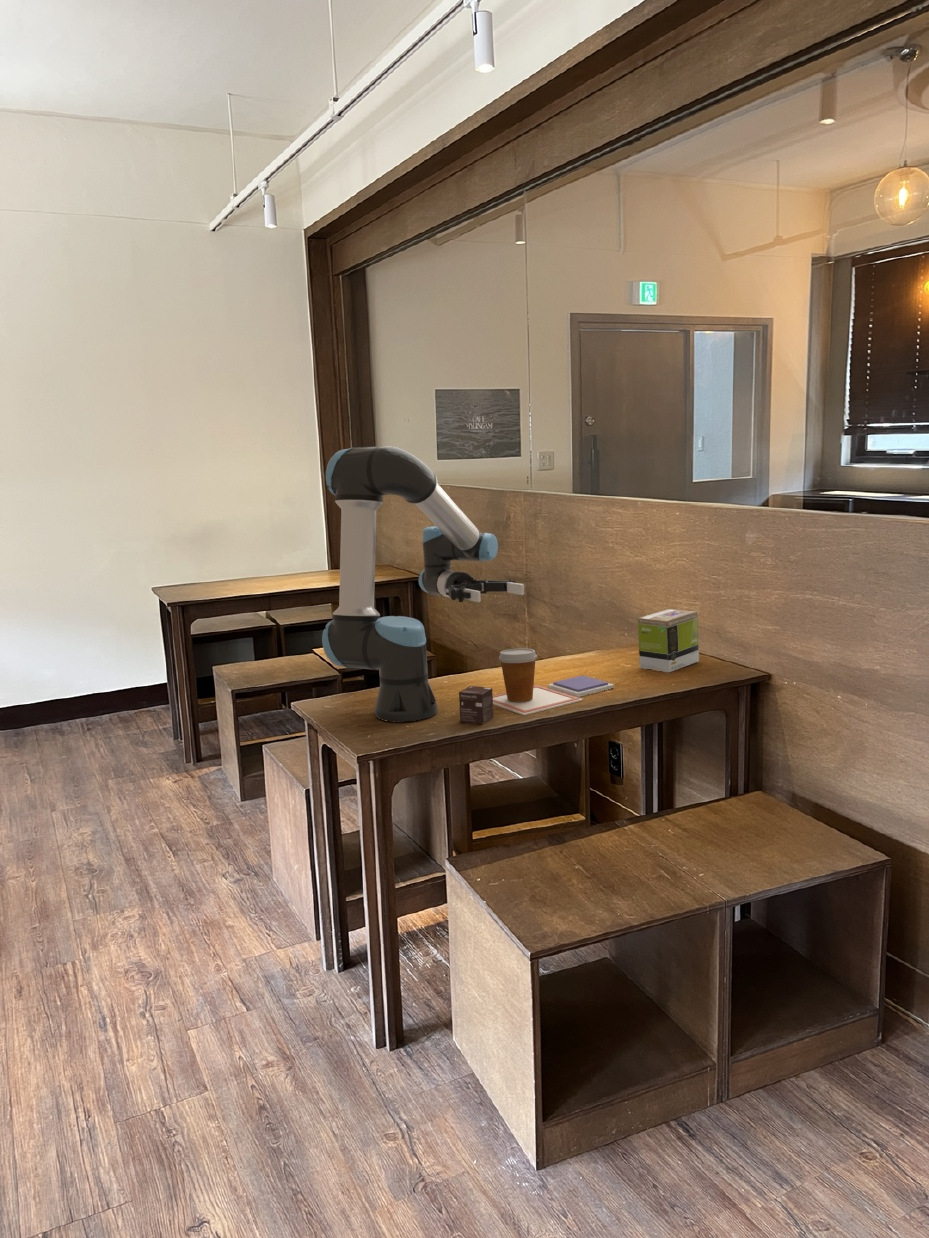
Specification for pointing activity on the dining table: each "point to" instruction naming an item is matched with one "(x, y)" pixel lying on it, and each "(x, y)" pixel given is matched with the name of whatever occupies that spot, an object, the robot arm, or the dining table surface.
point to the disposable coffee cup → (518, 673)
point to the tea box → (668, 640)
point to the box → (476, 704)
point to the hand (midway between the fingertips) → (501, 593)
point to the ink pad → (580, 686)
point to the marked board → (536, 701)
